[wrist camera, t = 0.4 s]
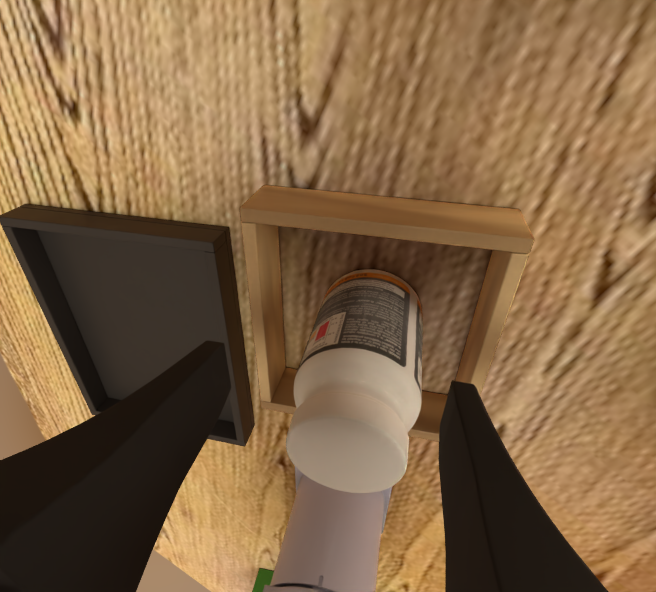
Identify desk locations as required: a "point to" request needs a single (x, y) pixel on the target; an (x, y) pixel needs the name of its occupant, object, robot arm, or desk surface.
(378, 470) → the pill bottle
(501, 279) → the wooden frame
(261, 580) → the hardback book
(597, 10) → the desk surface
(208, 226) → the tray
